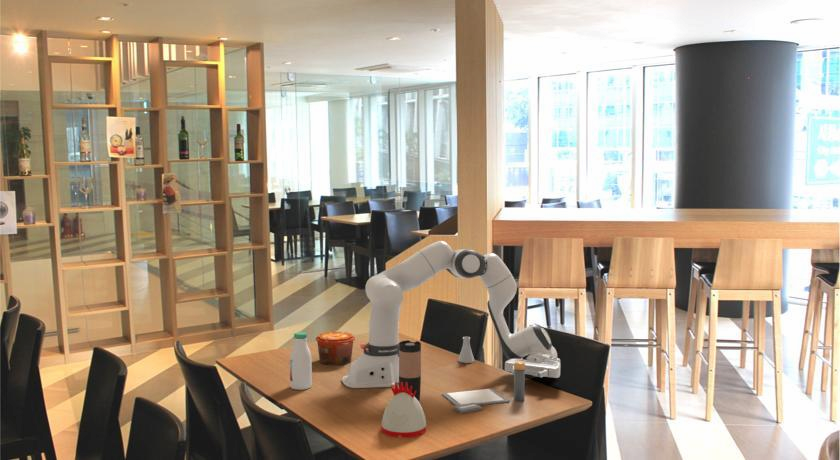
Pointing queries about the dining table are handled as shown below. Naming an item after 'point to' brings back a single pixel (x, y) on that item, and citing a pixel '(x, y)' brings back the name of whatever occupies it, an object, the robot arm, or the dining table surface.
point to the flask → (466, 352)
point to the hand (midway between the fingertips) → (526, 373)
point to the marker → (519, 381)
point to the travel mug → (410, 366)
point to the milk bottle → (300, 363)
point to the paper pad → (475, 397)
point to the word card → (467, 408)
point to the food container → (335, 347)
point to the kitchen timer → (403, 414)
